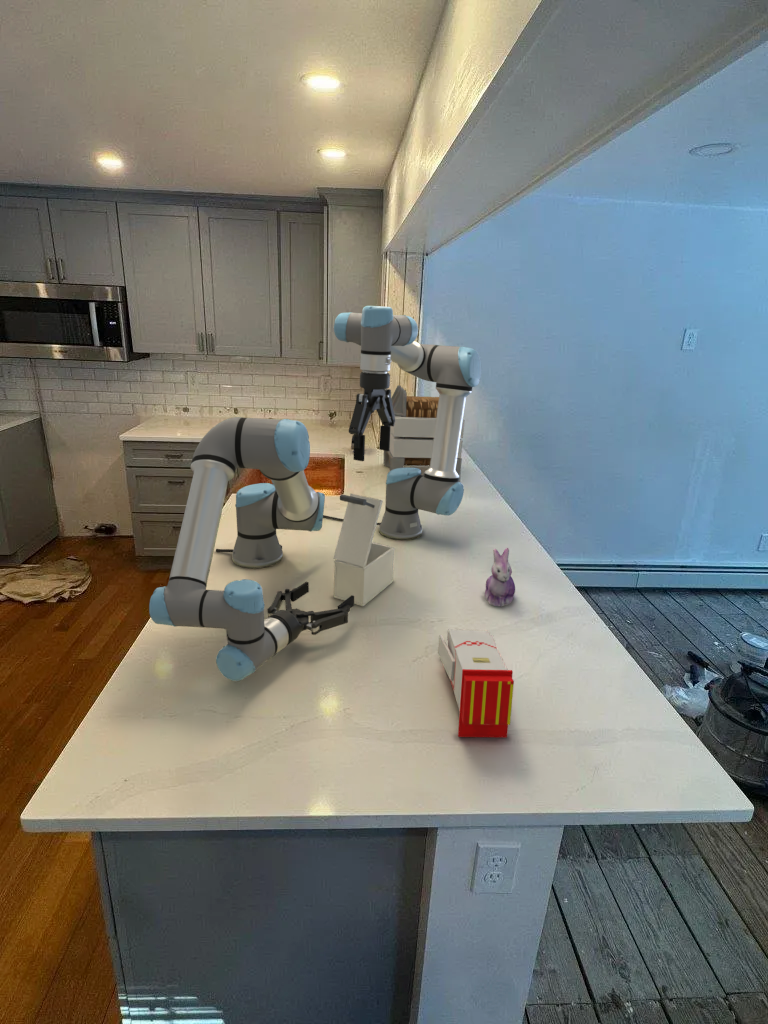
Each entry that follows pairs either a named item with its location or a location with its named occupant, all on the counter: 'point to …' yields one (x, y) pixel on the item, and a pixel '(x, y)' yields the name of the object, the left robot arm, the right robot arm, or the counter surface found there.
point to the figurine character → (352, 443)
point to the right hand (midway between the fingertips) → (372, 455)
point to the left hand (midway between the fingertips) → (329, 593)
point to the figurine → (500, 581)
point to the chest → (364, 575)
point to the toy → (478, 682)
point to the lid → (357, 529)
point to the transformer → (414, 431)
